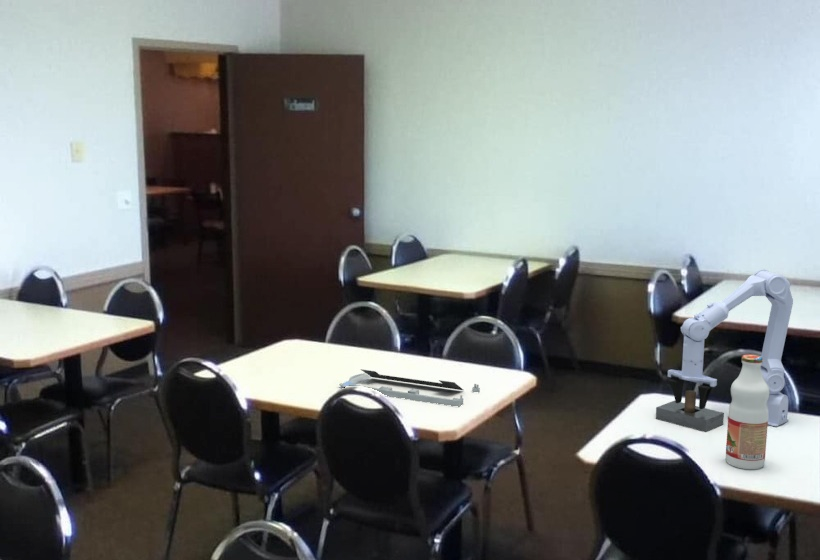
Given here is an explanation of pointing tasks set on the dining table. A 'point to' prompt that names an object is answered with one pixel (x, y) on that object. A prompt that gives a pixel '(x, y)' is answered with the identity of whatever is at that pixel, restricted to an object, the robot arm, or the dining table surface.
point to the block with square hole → (690, 416)
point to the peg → (690, 401)
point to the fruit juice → (748, 416)
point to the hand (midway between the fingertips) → (690, 405)
